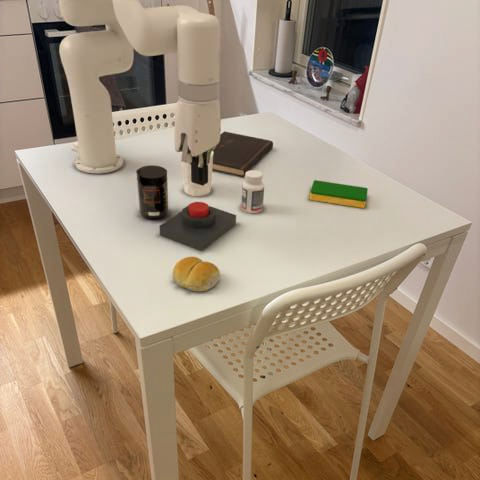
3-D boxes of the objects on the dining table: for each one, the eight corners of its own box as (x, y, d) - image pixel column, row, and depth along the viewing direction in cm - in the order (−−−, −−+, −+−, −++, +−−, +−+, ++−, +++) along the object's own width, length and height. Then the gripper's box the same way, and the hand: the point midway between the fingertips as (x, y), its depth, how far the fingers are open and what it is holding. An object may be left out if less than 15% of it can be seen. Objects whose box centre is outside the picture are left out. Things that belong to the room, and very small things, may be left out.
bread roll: (189, 262, 105) (189, 245, 102) (225, 278, 101) (226, 261, 99) (163, 281, 99) (162, 264, 97) (200, 298, 96) (200, 280, 93)
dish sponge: (312, 188, 135) (314, 179, 133) (365, 196, 133) (367, 187, 131) (309, 200, 129) (310, 191, 128) (364, 208, 127) (366, 199, 126)
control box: (159, 235, 112) (158, 217, 110) (196, 211, 122) (196, 193, 119) (201, 251, 108) (201, 232, 106) (235, 224, 118) (236, 206, 115)
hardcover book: (190, 165, 142) (190, 157, 140) (224, 138, 158) (224, 131, 157) (244, 177, 137) (244, 169, 136) (272, 148, 154) (273, 141, 153)
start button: (184, 214, 112) (184, 207, 111) (196, 207, 115) (196, 199, 114) (201, 220, 110) (201, 213, 109) (212, 212, 113) (212, 205, 112)
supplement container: (167, 206, 123) (165, 164, 116) (170, 220, 118) (169, 177, 111) (138, 208, 121) (135, 166, 115) (141, 222, 116) (137, 179, 110)
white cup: (208, 199, 127) (209, 160, 120) (177, 195, 128) (176, 156, 121) (215, 186, 133) (216, 148, 126) (186, 181, 134) (185, 144, 127)
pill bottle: (265, 206, 126) (268, 171, 120) (258, 215, 122) (261, 180, 116) (244, 201, 127) (246, 167, 121) (237, 211, 123) (239, 175, 117)
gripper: (204, 78, 103) (204, 166, 114) (158, 95, 92) (163, 190, 104) (236, 85, 100) (233, 175, 111) (192, 103, 90) (193, 200, 101)
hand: (199, 182), depth 108 cm, fingers closed
